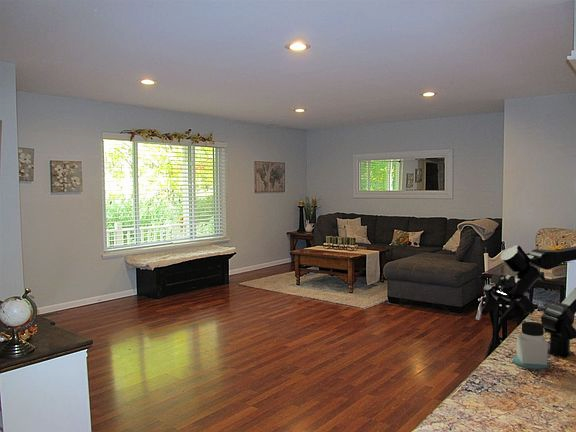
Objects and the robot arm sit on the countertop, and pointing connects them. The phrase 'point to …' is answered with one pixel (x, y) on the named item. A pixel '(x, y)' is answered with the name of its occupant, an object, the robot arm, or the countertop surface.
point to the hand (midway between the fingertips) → (490, 318)
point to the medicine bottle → (532, 344)
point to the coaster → (528, 366)
